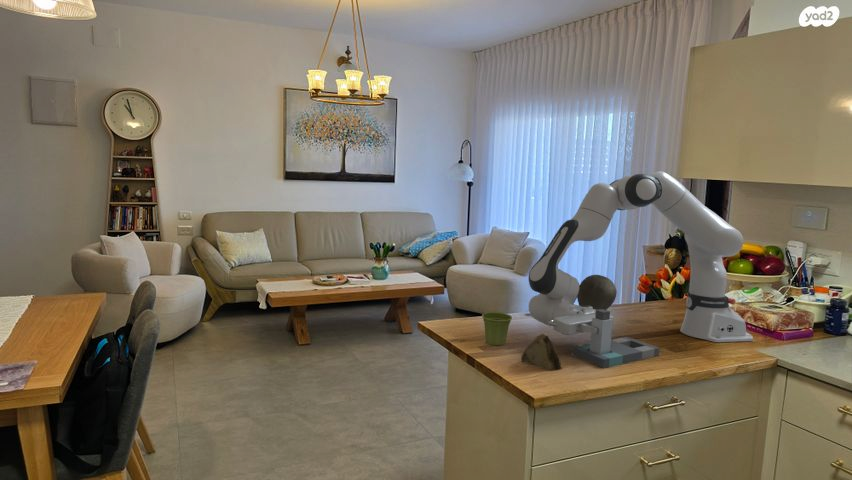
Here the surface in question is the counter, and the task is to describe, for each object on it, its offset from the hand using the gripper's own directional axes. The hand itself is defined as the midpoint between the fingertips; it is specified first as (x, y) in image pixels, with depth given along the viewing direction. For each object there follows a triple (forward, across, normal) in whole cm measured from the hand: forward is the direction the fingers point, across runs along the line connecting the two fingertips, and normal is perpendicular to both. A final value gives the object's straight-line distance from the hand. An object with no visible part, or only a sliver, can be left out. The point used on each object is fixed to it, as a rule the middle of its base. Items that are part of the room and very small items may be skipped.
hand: (603, 330), depth 164 cm
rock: (-5, -20, +9) cm, 22 cm away
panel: (-1, +7, +9) cm, 11 cm away
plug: (-1, 0, +8) cm, 8 cm away
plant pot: (-26, -19, +9) cm, 34 cm away
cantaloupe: (-39, +39, +9) cm, 56 cm away
